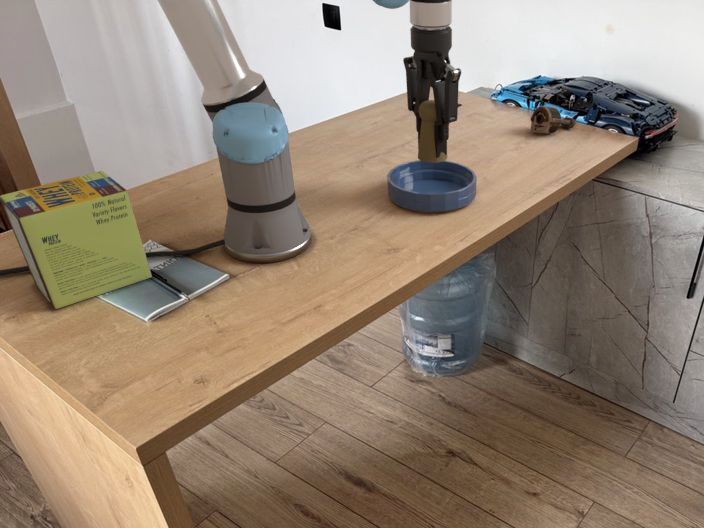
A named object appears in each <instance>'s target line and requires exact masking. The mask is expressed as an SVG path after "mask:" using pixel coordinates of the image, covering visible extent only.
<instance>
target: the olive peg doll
mask: <svg viewBox="0 0 704 528" xmlns="http://www.w3.org/2000/svg"><path fill="white" fill-rule="evenodd" d="M419 116H420V117H421V119H422V122H421V131H420V140H419V150H418V149H417V150H418V151H417V159H418V160H420V161H423V162H427V163H438V162H443V161H447V159H448V153H447V154H446V155H445V153H443V152H441V154H440V157H438V158H437V157H436V150H435V141H434V124H435V122H437V116H436V109H435V102H434V99H429V100H428V101H424V102H422V103H421V104H420V106H419ZM443 117H444V116H443Z"/></svg>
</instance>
